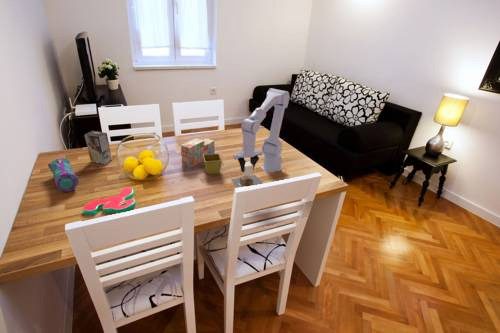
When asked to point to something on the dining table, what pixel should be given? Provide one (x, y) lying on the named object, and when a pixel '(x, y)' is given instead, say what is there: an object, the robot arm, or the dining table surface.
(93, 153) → the coffee box
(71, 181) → the pencil case
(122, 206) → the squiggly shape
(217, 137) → the dining table surface
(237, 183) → the blueprint mat
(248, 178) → the base block
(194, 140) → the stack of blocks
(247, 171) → the top block
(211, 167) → the flower pot
